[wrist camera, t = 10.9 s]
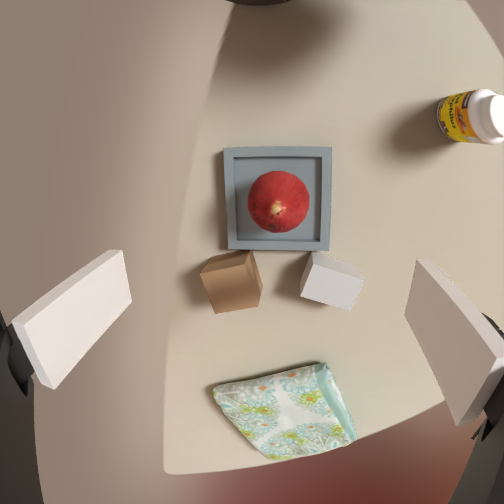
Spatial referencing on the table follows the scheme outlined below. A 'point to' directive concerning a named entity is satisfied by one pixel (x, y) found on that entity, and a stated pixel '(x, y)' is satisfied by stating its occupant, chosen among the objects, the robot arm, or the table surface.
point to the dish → (292, 161)
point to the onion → (278, 201)
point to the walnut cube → (232, 281)
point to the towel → (289, 412)
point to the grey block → (331, 281)
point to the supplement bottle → (473, 117)
